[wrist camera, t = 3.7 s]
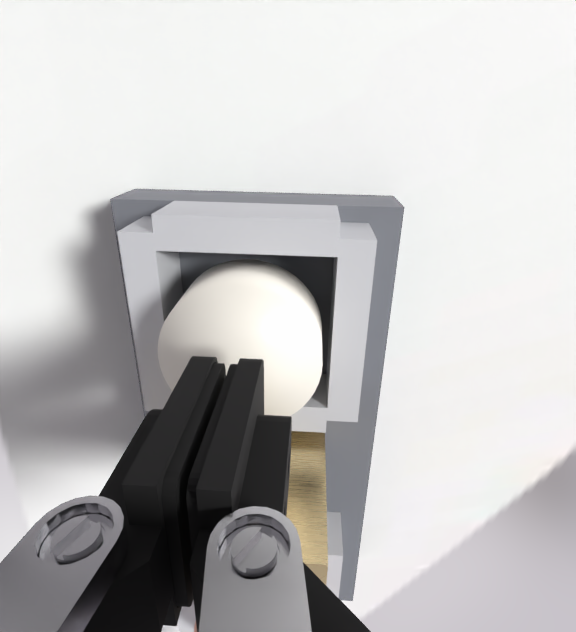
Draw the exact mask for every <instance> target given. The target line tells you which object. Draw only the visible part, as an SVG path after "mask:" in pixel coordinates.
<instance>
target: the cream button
mask: <svg viewBox="0 0 576 632" xmlns="http://www.w3.org/2000/svg"><path fill="white" fill-rule="evenodd" d="M192 356H204V357H216V358H217V361H218V363H224V364H225V369H226V375H227V372H228V369H229V366H230V364H238V362H239V359H240V358H246V359H263V361H264V415H275V416H291V415H293V414H294V413H296V412H297V411H299V410H300V409H301V408H302V407H303V406H304V405H305V404H306V403H307V402H308V401H309V400H310V398H311V397H312V395H313V394H314V392H315V390H316V388H317V386H318V384H319V381H320V378H321V374H322V366H323V360H322V321H321V315H320V311H319V308H318V305H317V303H316V301H315V299H314V297H313V295H312V294H311V292H310V291H309V289H308V288H307V287H306V286H305V285H304V284H303V282H301V281H300V280H299V279H298V278H297V277H296V276H295V275H293V274H292V273H290V272H289V271H287V270H285V269H283V268H281V267H280V266H277V265H275V264H272V263H269V262H265V261H261V260H253V259H238V260H231V261H227V262H224V263H220V264H218V265H216V266H213V267H211V268H210V269H208V270H206V271H205V272H203V273H202V274H201V275H200V276H199V277H197V278H196V280H195V281H194V282H193V283H192V284H191V285H190V287H189V288H188V289H187V291H186V292H185V293H184V295H183V296H182V297H181V299H180V300H179V301H178V303H177V304H176V305H175V307H174V308H173V309H172V311H171V312H170V313H169V315H168V317H167V318H166V320H165V321H164V324H163V326H162V328H161V331H160V335H159V339H158V360H159V365H160V369H161V371H162V374H163V377H164V379H165V381H166V382H167V384H168V386H169V387H170V389H171V390H172V391H173V390H174V388H175V386H176V384H177V382H178V380H179V379H180V377H181V375H182V373H183V371H184V369H185V368H186V366H187V364H188V362H189V360H190V358H191V357H192Z"/></svg>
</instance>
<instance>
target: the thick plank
mask: <svg viewBox="0 0 576 632" xmlns="http://www.w3.org/2000/svg"><path fill="white" fill-rule="evenodd" d="M286 517H287V518H289V519H290V521H291V522H292V523H293V525H294V526H295V527H296V529H297V532H298V535H299V538H300V543H301V550H302V558H303V562H304V563H305V564H306V565H307V566H308V567H309V568H310V569H311V570H312V571H313V573H314V574H315V575H316V576H317V577H318V578H319V579H320V580H321V581H322V582H323V583H324V584H325V585H326V583H327V571H328V542H327V501H326V459H325V433H321V432H303V431H291V459H290V476H289V490H288V502H287V515H286Z"/></svg>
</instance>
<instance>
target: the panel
mask: <svg viewBox="0 0 576 632" xmlns="http://www.w3.org/2000/svg"><path fill="white" fill-rule="evenodd" d="M111 206H112V212H113V218H114V225H115V231H116V237H117V244H118V250H119V257H120V263H121V269H122V276H123V282H124V288H125V295H126V301H127V307H128V314H129V320H130V326H131V333H132V339H133V346H134V352H135V358H136V365H137V371H138V377H139V384H140V390H141V396H142V403H143V409H144V416H145V417H146V415H147V414H148V413H149V411H150V410H152V409H163V408H164V406H165V404H166V402H167V401H168V399H169V397H170V395H171V393H172V390H171V389H170V387H169V386H168V384H167V382H166V381H165V379H164V377H163V374H162V371H161V369H160V365H159V360H158V339H159V335H160V331H161V328H162V326H163V324H164V321H165V320H166V318H167V317H168V315H169V313H170V312H171V311H172V309H173V308H174V307H175V305H176V304H177V303H178V301H179V300H180V299H181V297H182V296H183V295H184V293H185V292H186V291H187V289H188V288H189V287H190V285H191V284H192V283H193V282H194V281H195V280H196V278H197V277H199V276H200V275H201V274H202V273H203V272H205V271H206V270H208V269H210V268H211V267H213V266H216V265H218V264H220V263H224V262H227V261H231V260H238V259H253V260H261V261H265V262H269V263H272V264H275V265H277V266H280V267H281V268H283V269H285V270H287V271H289V272H290V273H292V274H293V275H295V276H296V277H297V278H298V279H299V280H300V281H301V282H303V284H304V285H305V286H306V287H307V288H308V289H309V291H310V292H311V294H312V295H313V297H314V299H315V301H316V303H317V305H318V308H319V311H320V315H321V321H322V360H323V366H322V374H321V378H320V381H319V384H318V386H317V388H316V390H315V392H314V394H313V395H312V397H311V398H310V400H309V401H308V402H307V403H306V404H305V405H304V406H303V407H302V408H301V409H300V410H299V411H297V412H296V413H294V414H293V415H291V417H292V431H303V432H321V433H325V459H326V501H327V542H328V571H327V583H326V586H327V587H328V588H329V589H330V590H331V591H332V592H333V593H334V594H335V595H336V596H337V597H338V598H339V599H340V600H348V601H353V594H354V587H355V579H356V571H357V564H358V556H359V548H360V541H361V533H362V526H363V518H364V510H365V503H366V495H367V487H368V480H369V472H370V465H371V457H372V449H373V442H374V434H375V426H376V419H377V411H378V404H379V396H380V388H381V381H382V373H383V365H384V358H385V350H386V343H387V335H388V327H389V320H390V312H391V304H392V297H393V289H394V282H395V274H396V266H397V259H398V251H399V243H400V236H401V228H402V221H403V213H404V207H403V206H402V205H401V203H400V202H399V201H398V200H397V199H396V198H395V197H394V196H374V195H337V194H301V193H265V192H228V191H192V190H155V189H134V190H131V191H129V192H126V193H124V194H122V195H119V196H117V197H114V198H112V199H111ZM195 621H196V617H195V609H194V600H193V602H192V605H191V606H190V607H182V609H181V612H180V616H179V619H178V626H179V632H194V625H195Z"/></svg>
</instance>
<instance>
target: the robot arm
mask: <svg viewBox="0 0 576 632" xmlns="http://www.w3.org/2000/svg"><path fill="white" fill-rule="evenodd" d="M291 431H292V417H291V416H275V415H264V361H263V359H246V358H240V359H239V362H238V364H230V366H229V369H228V372H227V375H226V369H225V364H224V363H218V361H217V358H216V357H204V356H192V357H191V358H190V360H189V362H188V364H187V366H186V368H185V369H184V371H183V373H182V375H181V377H180V379H179V380H178V382H177V384H176V386H175V388H174V390H173V391H172V393H171V395H170V397H169V399H168V401H167V402H166V404H165V406H164V408H163V409H152V410H150V411H149V413H148V414H147V415H146V417H145V419H144V420H143V422H142V424H141V425H140V427H139V429H138V430H137V432H136V434H135V435H134V437H133V439H132V441H131V442H130V444H129V446H128V447H127V449H126V451H125V452H124V454H123V456H122V457H121V459H120V461H119V463H118V464H117V466H116V468H115V469H114V471H113V473H112V474H111V476H110V478H109V479H108V481H107V483H106V484H105V486H104V488H103V490H102V491H101V493H100V495H99V496H86V497H80V498H75V499H73V500H70V501H67V502H65V503H62V504H60V505H59V506H57V507H55V508H54V509H52V510H51V511H49V512H47V513H46V514H45V515H44V516H43V517H42V518H41V519H40V520H39V521H38V522H36V523H35V525H34V526H33V527H32V528H31V529H30V530H29V531H28V532H27V534H26V535H25V536H24V537H23V538H22V539H21V541H19V543H18V544H17V545H16V546H15V547H14V548H13V549H12V550H11V552H10V553H9V554H8V555H7V556H6V557H5V558H4V559H3V561H2V562H1V563H0V632H161V631H162V628H163V625H165V626H177V623H178V619H179V616H180V612H181V609H182V607H190V606H191V605H192V602H193V600H194V609H195V617H196V626H197V632H370V631H369V630H368V628H367V627H366V626H365V625H364V624H363V623H362V622H361V621H360V620H359V619H358V618H357V617H356V616H355V615H354V614H353V613H352V612H351V611H350V610H349V609H348V608H347V607H346V606H345V605H344V604H343V602H342V601H341V600H340V599H339V598H338V597H337V596H336V595H335V594H334V593H333V592H332V591H331V590H330V589H329V588H328V587H327V586H326V585H325V584H324V583H323V582H322V581H321V580H320V579H319V578H318V577H317V576H316V575H315V574H314V573H313V571H312V570H311V569H310V568H309V567H308V566H307V565H306V564H305V563H304V562H303V558H302V550H301V543H300V538H299V535H298V532H297V529H296V527H295V526H294V525H293V523H292V522H291V521H290V519H289V518H287V517H286V515H287V502H288V490H289V476H290V459H291Z"/></svg>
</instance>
